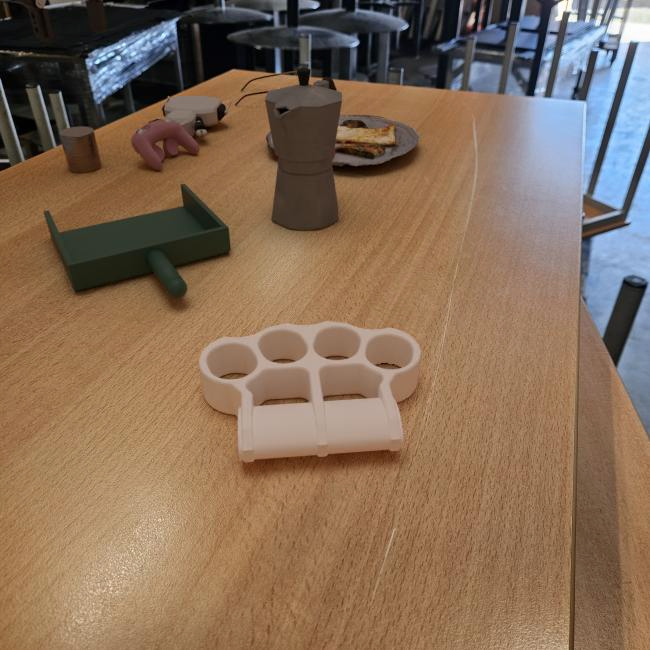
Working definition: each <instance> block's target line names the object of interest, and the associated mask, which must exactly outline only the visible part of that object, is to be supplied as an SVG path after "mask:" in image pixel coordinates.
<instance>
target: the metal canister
mask: <svg viewBox="0 0 650 650" xmlns="http://www.w3.org/2000/svg"><path fill="white" fill-rule="evenodd" d="M59 138H60V141H61V145H62V150H63V153H64V157H65V160H66V164H67V168H68V171H69V172H72V173H76V174H87V173H93V172H96V171H98V170H99V169H101V168H102V165H103V164H102V160H101V155H100V152H99V148H98V142H97V138H96V133H95V129H94V128H93V127H90V126H71V127H67V128H64V129H62V130H60V131H59Z"/></svg>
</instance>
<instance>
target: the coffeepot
mask: <svg viewBox="0 0 650 650" xmlns="http://www.w3.org/2000/svg"><path fill="white" fill-rule="evenodd" d="M296 70H297V72H296V74H297V80H298V84H295V85H290V86H285V87H282V88H281V87H280V88H277V89H272V90H267V91H268V92H267V93H266V95H265V98H264V103H265V108H266V109H265V110H266V113H267V119H268V124H269V129H270V130H269V131H271V135H272V141H273V146H274V149H273V152H274V155H275V156H277V169H276V177H275V186H274V194H273V202H272V203H273V204H272V211H271V220H272V221H273V222H275V223H276V224H277V225H279V226H280V227H282V228H285V229H289V230H293V231H302V232H303V231H305V232H306V231H316V230H321V229H325V228H328V227H330V226H332V225H334V224H335V223H336V222H337V221H339V219H340V217H339V216H340V215H339V203H338V196H337V195H338V194H337V189H336V182H335V175H334V168H333V165H332V156H333V155H334V148H335V142H336V136H337V129H338V123H339V117H340V115H341V109H342V104H343V92H342V91H338V90H337V86H336V85H335V82H334V79H333V78H332V77H330V76H325V77H323V78H322V79H318V80H316V81H314V82H313V84H309V83H310V77H311V72H312V71H311V68H308V67H305V66H303V67H300V68H297V69H296Z"/></svg>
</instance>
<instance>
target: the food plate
mask: <svg viewBox="0 0 650 650" xmlns="http://www.w3.org/2000/svg"><path fill="white" fill-rule="evenodd" d="M421 137H422V136H421V135H419V132H418V131H417V130H416V129H414V128H413V127H412V126H411V125H408V124H406V123H404V122H400V121H396V120H391V119H389V118H386V117H385V118H384V116H378V115H370V114H369V115H368V114H340V117H339V123H338V129H337V136H336V142H335V148H334V155H333V156H332V166H335V167H343V166H345V165H348V166H352V167H358V166H359V167H360V166H369V165H379V164H383V163H385V162H387V161H388V162H389V161H391V159H393V158H396V157H400V156H403V155H406V154H407V153H408V152H410V151H412V150H414V149H415V147H416V146H418V144H419V142H420V140H421ZM265 140H266V144H267V147H268V148H269V149H270V150H272V153H274V146H273V141H272V135H271V130H269V132H268V133H267V134H266V136H265Z"/></svg>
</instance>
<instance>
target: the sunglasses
mask: <svg viewBox="0 0 650 650" xmlns="http://www.w3.org/2000/svg"><path fill="white" fill-rule="evenodd" d="M294 73H297V69H296V70H292V71H291V70H290V71H285V72H279V73H274V74H269V75H264V76H259V77H255V78H252V79H249V80H248V81H247V82H246V83H245V84H244V86H243V87H242V88H241V89H240V91H241V92H243V91H244V90H245V89H246V87H247V86H248V85H249V84H250V83H251V82H254V81H257V80H262V79H265V78H272V77H277V76H282V75H283V76H284V75H288V74H294ZM268 91H269V90H265V91H264V90H263V91H257V92H252V93H248V94H245V95H242V96H241V97H240V98H239V99H238V101H236V103H235V104H234V106H238V105H239V103H240V102H241V101H242V100H243V99H245V98H247V97H249V96H255V95H256V96H257V95H263V94H267V92H268Z"/></svg>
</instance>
